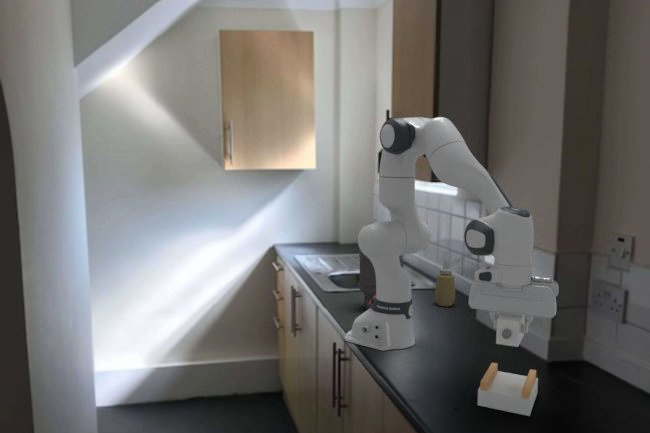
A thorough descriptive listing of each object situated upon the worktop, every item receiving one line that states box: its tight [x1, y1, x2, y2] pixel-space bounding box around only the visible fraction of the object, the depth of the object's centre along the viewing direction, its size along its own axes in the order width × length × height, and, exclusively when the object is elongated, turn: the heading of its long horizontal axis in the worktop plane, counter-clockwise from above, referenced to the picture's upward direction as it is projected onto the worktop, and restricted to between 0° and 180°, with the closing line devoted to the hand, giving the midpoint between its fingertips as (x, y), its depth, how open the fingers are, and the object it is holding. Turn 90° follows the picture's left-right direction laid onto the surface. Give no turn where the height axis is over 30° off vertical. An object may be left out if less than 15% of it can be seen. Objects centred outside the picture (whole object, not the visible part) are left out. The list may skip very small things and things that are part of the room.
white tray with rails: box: [477, 362, 539, 417], centre depth 140 cm, size 12×14×6 cm
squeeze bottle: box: [434, 259, 456, 307], centre depth 224 cm, size 8×8×18 cm
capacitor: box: [358, 249, 376, 311], centre depth 218 cm, size 14×14×30 cm
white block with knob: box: [495, 312, 526, 348], centre depth 138 cm, size 12×5×6 cm, turn 153°
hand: (510, 330), depth 139 cm, fingers closed on white block with knob, 5 cm apart
